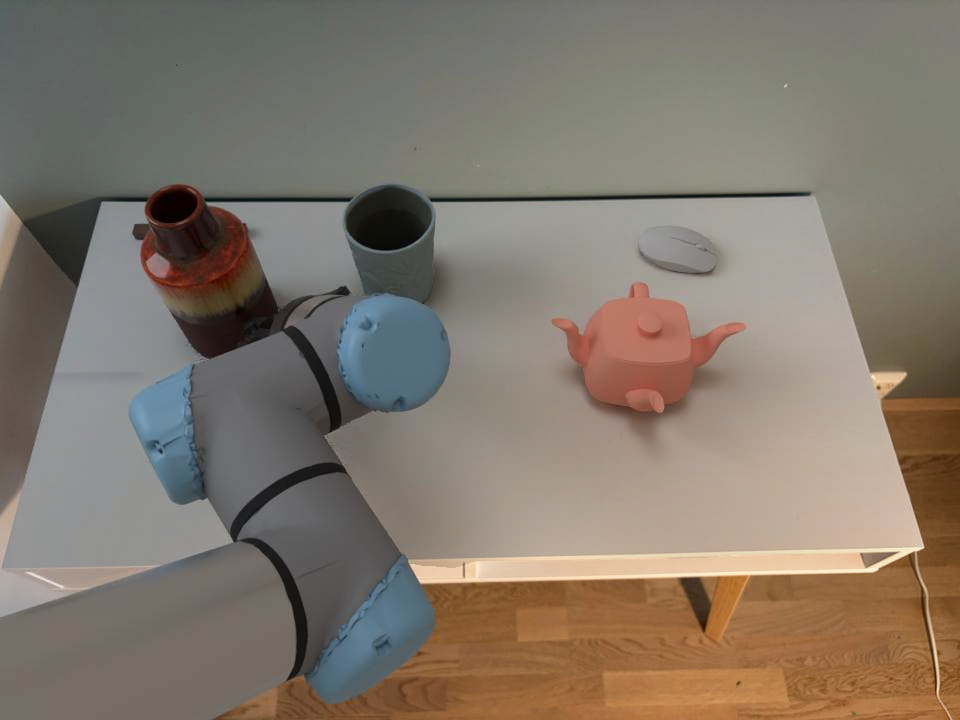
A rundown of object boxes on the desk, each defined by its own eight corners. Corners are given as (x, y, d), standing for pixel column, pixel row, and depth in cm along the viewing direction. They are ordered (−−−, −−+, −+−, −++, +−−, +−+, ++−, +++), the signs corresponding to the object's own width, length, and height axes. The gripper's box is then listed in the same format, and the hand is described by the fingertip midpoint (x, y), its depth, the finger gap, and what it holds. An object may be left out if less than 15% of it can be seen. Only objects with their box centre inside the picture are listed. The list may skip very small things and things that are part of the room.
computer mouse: (713, 280, 90) (720, 265, 88) (633, 265, 91) (638, 250, 89) (716, 243, 93) (723, 228, 91) (638, 230, 94) (643, 214, 92)
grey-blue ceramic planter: (363, 323, 87) (349, 260, 76) (351, 257, 92) (335, 190, 81) (447, 307, 88) (444, 243, 78) (430, 243, 93) (425, 174, 82)
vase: (186, 293, 89) (116, 171, 71) (277, 279, 90) (229, 155, 72) (187, 369, 83) (111, 257, 66) (283, 353, 84) (233, 239, 67)
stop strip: (248, 228, 94) (245, 222, 93) (246, 238, 93) (244, 232, 92) (138, 229, 93) (134, 223, 92) (135, 239, 93) (131, 233, 92)
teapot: (718, 374, 84) (750, 322, 74) (638, 455, 79) (662, 410, 69) (621, 299, 89) (640, 241, 79) (540, 370, 84) (550, 317, 74)
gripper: (290, 430, 58) (226, 395, 78) (411, 330, 63) (322, 321, 83) (230, 355, 55) (181, 339, 75) (362, 257, 60) (282, 266, 80)
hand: (255, 330), depth 79 cm, fingers closed
